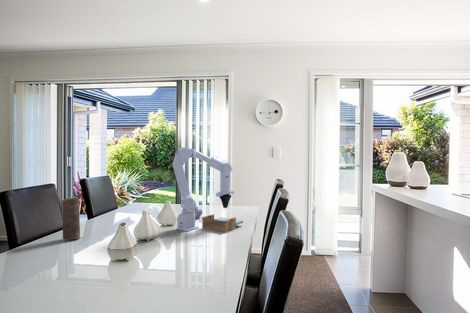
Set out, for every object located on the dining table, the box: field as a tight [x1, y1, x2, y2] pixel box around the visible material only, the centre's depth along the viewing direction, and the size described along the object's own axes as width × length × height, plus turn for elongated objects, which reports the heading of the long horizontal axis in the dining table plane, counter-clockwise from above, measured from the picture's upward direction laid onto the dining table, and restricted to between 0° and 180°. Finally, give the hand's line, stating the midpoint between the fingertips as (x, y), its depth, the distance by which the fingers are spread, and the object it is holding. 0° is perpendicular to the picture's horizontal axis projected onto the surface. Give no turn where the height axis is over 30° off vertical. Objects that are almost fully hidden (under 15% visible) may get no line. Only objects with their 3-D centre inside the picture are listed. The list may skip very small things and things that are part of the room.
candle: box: [61, 197, 81, 241], centre depth 147 cm, size 8×7×20 cm
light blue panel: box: [215, 216, 244, 226], centre depth 173 cm, size 1×16×7 cm
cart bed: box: [201, 214, 237, 233], centre depth 166 cm, size 9×16×6 cm, turn 56°
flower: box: [195, 205, 203, 220], centre depth 189 cm, size 9×9×10 cm
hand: (225, 207), depth 175 cm, fingers closed
